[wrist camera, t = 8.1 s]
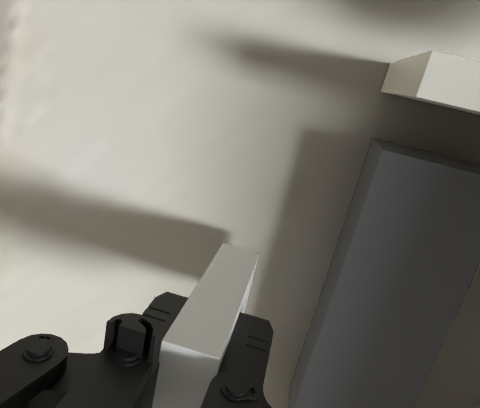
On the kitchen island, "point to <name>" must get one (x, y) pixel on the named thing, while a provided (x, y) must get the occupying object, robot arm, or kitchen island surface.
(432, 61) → the white u-shaped bracket
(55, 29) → the kitchen island surface
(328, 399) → the dark grey block
